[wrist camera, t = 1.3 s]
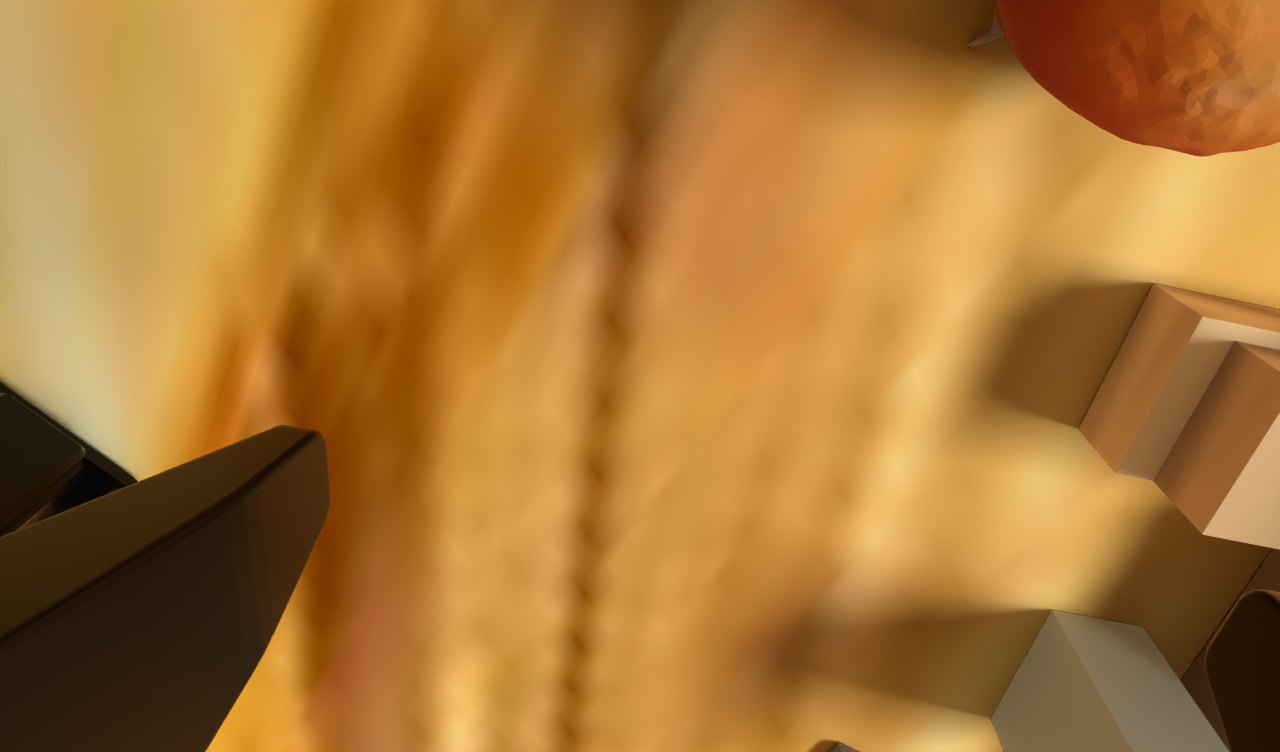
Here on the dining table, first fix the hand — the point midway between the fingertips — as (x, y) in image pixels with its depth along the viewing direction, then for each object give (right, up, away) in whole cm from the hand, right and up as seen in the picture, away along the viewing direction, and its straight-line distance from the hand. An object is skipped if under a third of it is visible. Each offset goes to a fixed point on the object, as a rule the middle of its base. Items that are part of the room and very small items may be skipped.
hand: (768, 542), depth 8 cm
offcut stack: (+15, +1, +14) cm, 20 cm away
